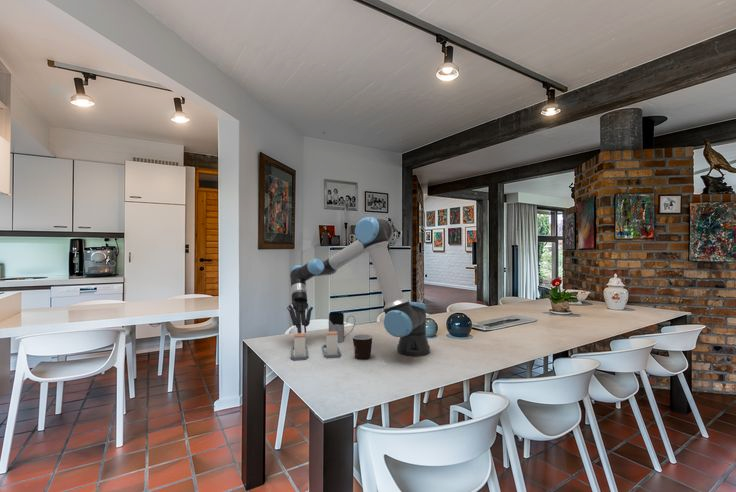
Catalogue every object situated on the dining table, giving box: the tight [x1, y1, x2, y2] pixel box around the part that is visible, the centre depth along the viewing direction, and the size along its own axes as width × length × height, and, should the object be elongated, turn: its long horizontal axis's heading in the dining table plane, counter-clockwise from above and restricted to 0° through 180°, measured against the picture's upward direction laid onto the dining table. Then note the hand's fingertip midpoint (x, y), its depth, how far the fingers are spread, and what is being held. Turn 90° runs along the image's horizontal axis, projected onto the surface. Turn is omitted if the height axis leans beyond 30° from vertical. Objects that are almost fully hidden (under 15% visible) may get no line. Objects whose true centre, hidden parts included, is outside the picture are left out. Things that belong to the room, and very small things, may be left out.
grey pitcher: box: [328, 312, 356, 344], centre depth 176 cm, size 9×14×15 cm, turn 104°
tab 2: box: [325, 331, 339, 355], centre depth 154 cm, size 4×5×10 cm
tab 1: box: [293, 333, 306, 357], centre depth 150 cm, size 4×5×10 cm
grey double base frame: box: [290, 343, 342, 362], centre depth 156 cm, size 18×22×2 cm
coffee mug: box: [352, 334, 373, 361], centre depth 151 cm, size 12×9×10 cm
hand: (302, 339), depth 160 cm, fingers closed
